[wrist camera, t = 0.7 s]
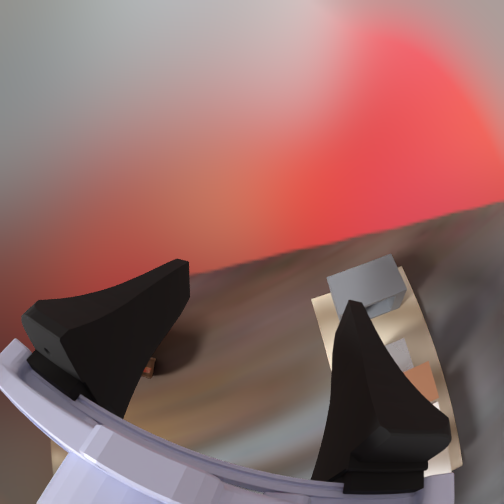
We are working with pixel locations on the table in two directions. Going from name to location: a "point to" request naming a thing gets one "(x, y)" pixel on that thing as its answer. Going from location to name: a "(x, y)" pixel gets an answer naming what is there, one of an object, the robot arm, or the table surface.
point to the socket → (369, 287)
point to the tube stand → (420, 349)
